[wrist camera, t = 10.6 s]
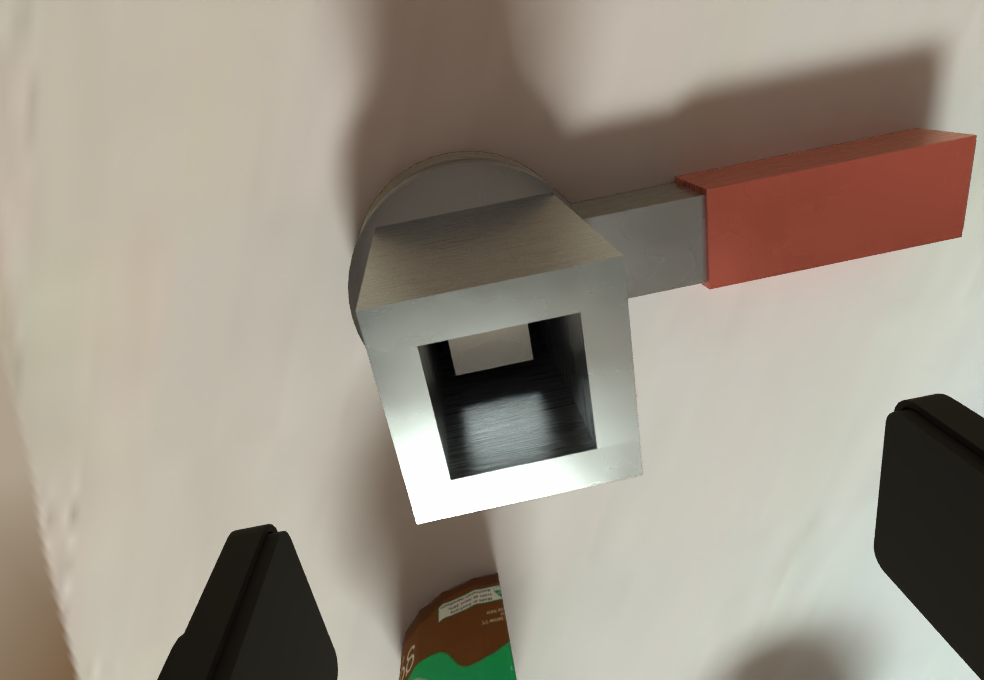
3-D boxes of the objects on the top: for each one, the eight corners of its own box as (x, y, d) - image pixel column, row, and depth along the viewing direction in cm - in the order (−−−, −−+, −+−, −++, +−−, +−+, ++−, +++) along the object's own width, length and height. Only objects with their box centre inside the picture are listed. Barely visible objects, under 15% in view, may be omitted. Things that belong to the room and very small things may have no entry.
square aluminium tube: (551, 192, 19) (624, 255, 12) (572, 350, 21) (642, 474, 14) (375, 227, 18) (355, 311, 12) (415, 383, 21) (416, 524, 14)
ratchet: (929, 58, 21) (1116, 53, 16) (905, 275, 25) (1051, 336, 19) (328, 176, 21) (297, 216, 15) (386, 383, 24) (378, 481, 18)
